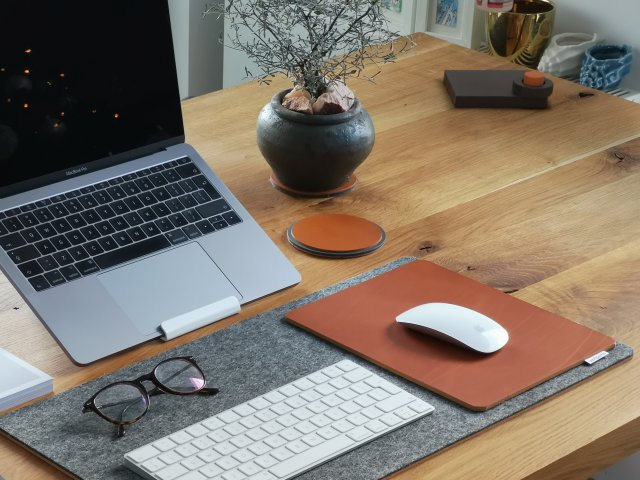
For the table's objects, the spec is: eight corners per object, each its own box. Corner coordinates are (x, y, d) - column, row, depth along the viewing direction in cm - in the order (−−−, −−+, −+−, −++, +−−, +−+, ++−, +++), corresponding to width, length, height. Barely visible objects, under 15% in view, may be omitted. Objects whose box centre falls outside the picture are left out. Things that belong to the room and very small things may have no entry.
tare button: (540, 80, 172) (542, 71, 171) (545, 87, 169) (546, 77, 168) (521, 80, 172) (522, 70, 171) (525, 87, 169) (526, 77, 168)
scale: (535, 81, 181) (538, 60, 179) (553, 110, 169) (557, 88, 168) (443, 80, 181) (445, 60, 179) (455, 109, 170) (458, 88, 168)
